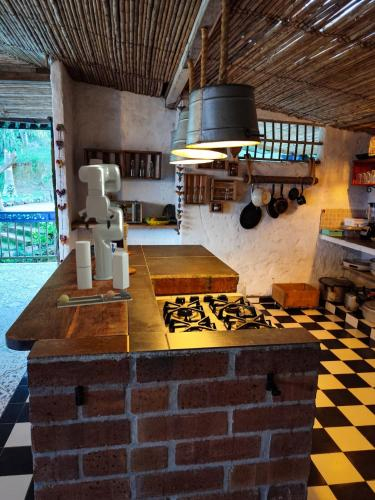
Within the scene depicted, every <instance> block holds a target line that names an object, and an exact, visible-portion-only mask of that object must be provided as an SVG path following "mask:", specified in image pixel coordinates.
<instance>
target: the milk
mask: <svg viewBox="0 0 375 500" xmlns="http://www.w3.org/2000/svg"><path fill="white" fill-rule="evenodd" d="M129 263H130V262H129V253H128V252H127V251H126V248H124V247H123V248H122V247H115V249H114V251H113V252H112V271H113V279H112V285H113V289H118V290H123V289H125V290H126V289H127V288H129V287H130V270H129Z"/></svg>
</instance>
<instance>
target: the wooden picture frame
mask: <svg viewBox="0 0 375 500" xmlns="http://www.w3.org/2000/svg"><path fill="white" fill-rule="evenodd" d="M98 295H99V296H95V295H88V296H89V297H85V296H77V297H78V298H74V297H69V301H77V302H67V303H59V302H60V298H57V302H56V306H57V307H58V306H68V305H78V304H88V303H98V302H103V298H102V295H103V294H98ZM98 298H100V299H98ZM88 299H98V300H88ZM78 300H87V301H78ZM98 304H99V303H98ZM88 305H89V304H88Z"/></svg>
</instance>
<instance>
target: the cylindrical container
mask: <svg viewBox="0 0 375 500" xmlns="http://www.w3.org/2000/svg"><path fill="white" fill-rule="evenodd" d="M74 244H75V245H74V246H75V261H76V262H75V263H76V278H77V279H76V280H77V290H88V289H90V290H91V289H93V275H92V261H91V260H92V258H91V257H92V256H91V241H89V240H79V241H78V240H77V241H75V242H74Z"/></svg>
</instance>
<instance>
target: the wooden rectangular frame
mask: <svg viewBox="0 0 375 500" xmlns="http://www.w3.org/2000/svg"><path fill="white" fill-rule="evenodd" d="M114 294H115V296H114V297H118V298H108V299H106V298H107V297H106V295H103V294H102V295H103V298H104V301H105V302H108V301H118V300H128V299H131V298H132V295H131V293H130V292H128V297H119V296H120V295H119V294H117V293H114ZM128 301H129V300H128ZM118 302H119V301H118ZM108 303H109V302H108Z"/></svg>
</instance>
